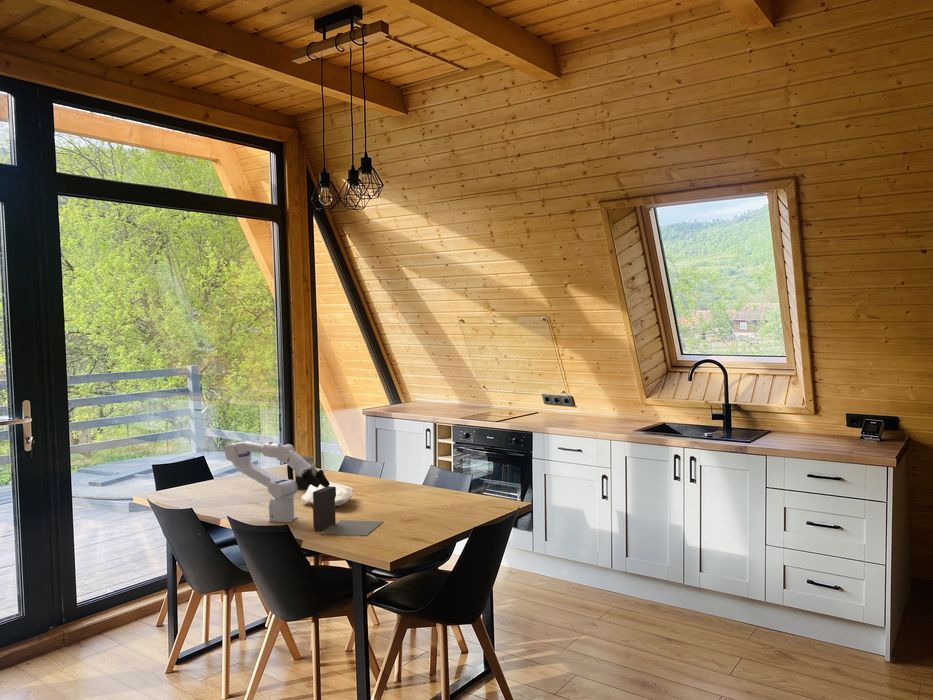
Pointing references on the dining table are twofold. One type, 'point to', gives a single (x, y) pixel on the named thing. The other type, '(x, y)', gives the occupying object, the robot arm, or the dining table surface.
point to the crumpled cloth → (341, 493)
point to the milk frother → (297, 478)
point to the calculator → (324, 508)
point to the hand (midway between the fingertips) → (323, 485)
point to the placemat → (352, 527)
